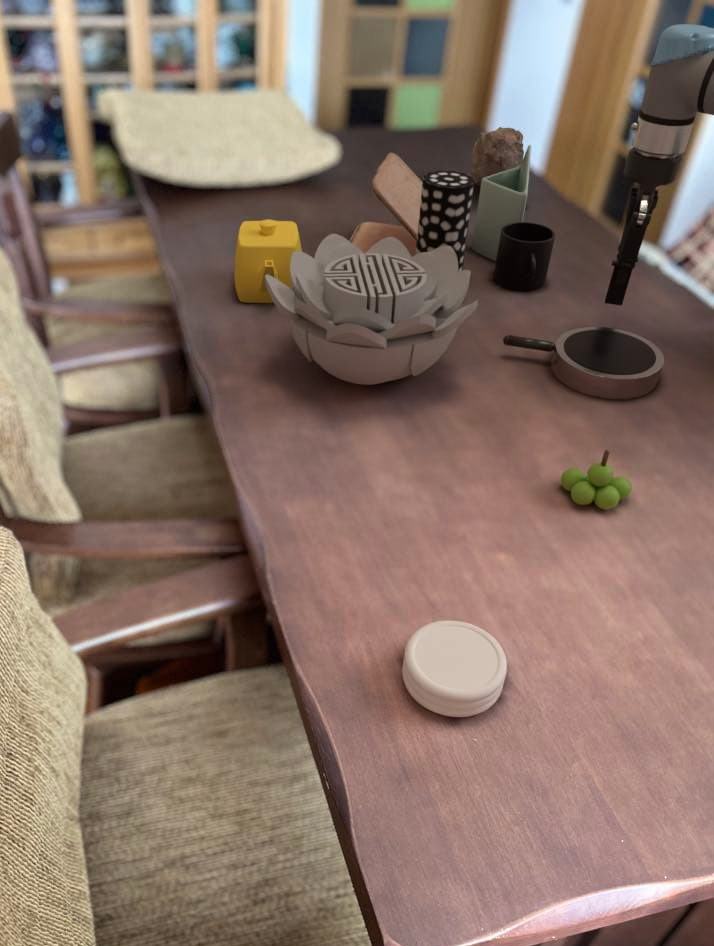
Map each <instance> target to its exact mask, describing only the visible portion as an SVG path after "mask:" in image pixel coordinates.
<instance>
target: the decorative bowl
mask: <svg viewBox="0 0 714 946" xmlns="http://www.w3.org/2000/svg"><path fill="white" fill-rule="evenodd" d="M470 279H471V270H469V269H462V271H460V272H458V260H457V256H456V253H455V251H454V249H453V248H452V247H451V246H442V247H439V248H436V249H434V250H432V251H431V252H422V253H418V254H416V255H414V256H413V257H411V255H410V254H409V252H408V250H407V249H406V247H405V246H404V245H403V244H402V242H400V241H399V240H398V239H396V238H394V237H387V238H384V239H382V240H380V241H379V242H377V243H376V244H374V245H373V246H372V247H371V248H370V249H369V250H368V251H367V252H366V254H364V253H363V252H362V251H361V250H360V249H358V248H357V247H356V246H354V245H353V244H352V243H351V242H350V241H349V240H348V239H347V238H345V237H344V236H343V235H340V234H338V233H330V234H328V235H327V236H325V238H323V239H322V241H321V242H320V243H319V245H318V247H317V248H316V251H315V253H314V257H312V256H311V255H309V254H308V253H306V252H303V251H302V252H300V251H296V252H294V253H293V255H292V258H291V264H290V280H291V286H292V289H291V288H290V287H288V286H287V285H285V284H283V283H282V282H280V281H279V280H277V279H275V278H273V277H272V276H270V275H266V276H265V285H266V287H267V290H268V292H269V294H270V296H271V298H272V300H273V302H274V303H273V304H274V305H275V307H276V309H277V310H279V312H280V313H281V314H282V315H283V316H284V317H285V318H287V322H288V326H289V329H290V332H291V335H292V337H293V339H294V342H295V343H296V345H297V347H298V349H299V350H300V352H301V353H302V354H303V355H304V357H305V358H306V359H307V360H308V361H309V362H310V363H312V362H315V363H316V364H317V365H319V366H320V367H321V368H322V369H323V370H324V371H325V372H327V373H328V374H330V375H331V376H333V377H335V378H337V379H339V380H342V381H344V382H348V383H351V384H357V385H365V386H367V385H379V384H383V383H386V382H392V381H397V380H400V379H403V378H406V377H408V376H411V375H412V376H413V377H416V376H419V375H420V374H422V373H423V372H425V371H427V370H428V369H429V368H431V367H432V366H433V365H434V364H436V362H437V361H439V359H440V358H441V357H442V356H443V355H444V354H445V352H446V351H447V350H448V348H449V346H450V345H451V343H452V342H453V340H454V337H455V335H456V332H457V330H458V327H459V326H460V325H461V324H462V323H463V322H465V320H467V319H468V318H469V316H471V315H472V314H473V313H474V312H475V311H476V310H477V309H478V304H479V299H476V301H474V302H471V303H470V304H467V305H465V306H462V307H461V305H462V303H464V302H463V301H464V300H465V298H466V295H467V293H468V290H469V286H470Z"/></svg>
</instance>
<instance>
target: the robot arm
mask: <svg viewBox="0 0 714 946" xmlns="http://www.w3.org/2000/svg"><path fill="white" fill-rule="evenodd" d="M652 58H653V59H652V61H651V63H650V68H649V72H648V78H647V80H646V85H645V89H644V94H643V97H642V100H641V101H642V102H641V106H640V110H639V112H638V117H637V122H633V123H632V124H631V126H630V130H632V131H634V133H633V137H632V140H631V146H632V148H631V149H629V151H628V154H627V157H626V161H625V165H624V169H623V175H624V178H625V179H627V180H628V181H630V182H632V183H637V184H636V185H634V186H631V187H630V190H629V194H628V195H629V196H628V204H627V208H626V211H625V212H626V213H625V214H626V215H625V223H624V225H623V226H624V227H623V230H622V235H621V238H620V242H619V245H618V247H617V252H618V253H617V254H616V260H613V259H612V261H611V267H613V270H612V274H611V277H610V280H609V284H608V287H607V291H606V295H605V299H604V304H609V305H614V306H623V303H624V299H625V297H626V293H627V290H628V286H629V283H630V279H631V276H632V273H633V270H634V269H635V267H636V265H637V264H636V263H638V262H639V253H640V250H641V248H642V243H643V241H644V237H645V234H646V231H647V229H648V226H649V225H650V222H651V219H652V217H653V212H654V210H655V209H656V208H657V204H658V201H659V197H660V196H659V189H656V188H658V187H660V186H669V185H672V184H674V183H675V181H676V180H677V177H678V174H679V171H680V168H681V165H682V162H683V156H682V154H683V153H685V151H686V149H687V146H688V143H689V140H690V136H691V134H692V130H693V127H694V124H695V118H696V115H697V113H700V114H705V115H710V116H714V27H708V26H706V25H702V24H701V25H699V24H691V23H690V24H688V23H687V24H685V23H684V24H683V23H682V24H681V23H680V24H673V25H670V26H668V27H666V28H665V29H664V30H663V31H662V32H661V34H660V37H659V40H658V43H657V46H656V49H655V52H654V56H653V57H652Z"/></svg>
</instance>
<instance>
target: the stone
mask: <svg viewBox="0 0 714 946" xmlns="http://www.w3.org/2000/svg"><path fill="white" fill-rule="evenodd" d="M523 140H524V135H523V133H522V132H521V131H520V130H519V129H518V130H516V129H515V128H512V127H501V126H500V127H498V128H497V129H496V130H491V131H481V132H480V133H479V137H478V139H477V140H476V141H475V143H474V147H473V149H472V150H471V151H472V154H471V169H470V176H472V177H473V178H474V180H475V182H474V184H475V185H478V186H479V187H481V182H482V179H483V178H485V177H488V176H490V175H493V174H497V173H500V172H503V171H506V170H510V169H513V168H517V167H518V166H519V165H520V164H521V163H522V161H523V158H524V156H525V150H524V143H523ZM531 178H532V177H531V173H529V182H528V188H529V187H530V182H531Z"/></svg>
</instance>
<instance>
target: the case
mask: <svg viewBox="0 0 714 946" xmlns="http://www.w3.org/2000/svg"><path fill="white" fill-rule="evenodd" d="M422 184H423V180H421V179H420V178H419V177H418V175H417V174H415V172H414V171H413V170H412V169H411V168H410V167H409V166H408V165H407V164H406V162H404V161H403V159H402V158H401V157H400V156H399V155H398V154H396V153H394V152H389V153H388V154H387V155H386V157H385V158H384V160H382V162H381V163H380V164H379V165H378V167H377V168H376V170H375V175H374V177H373V179H372V181H371V185H372V190H373V192H374V194H375V195H376V197H377V198H378V200H380V202H381V203H382V204H383V205H384V206H385V207H386V208H387V209H388V211H389V212H390V213H391V214H392V215H393V216H394V218H395V219H396V220H397V221H398V222H399V223H400V224H391V223H382V222H375V221H363V222H361V223H360V224H359V225H357V227H355V229H354V231H353V233H352V235H351V236H350V239H349V240H348V241H350V242H351V243H352V244H353V245H354V246H356V247H357V248H358V249H360V250H361V251H362V252H363V253H364V254H366V252H367V251H368V250H369V249H370V248H371V247H372V246H373V245H374V244H376V243H377V242H379V241H380V240H382V239H384V238H387V237H394V238H396V239H398V240H399V241H400V242H402V244H403V245H404V246H405V247H406V249H407V250H408V252H409V254H410V255H411V257H413V256H414V255H415V253H416V243H417V233H418V224H419V214H420V204H421V194H422Z"/></svg>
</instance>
